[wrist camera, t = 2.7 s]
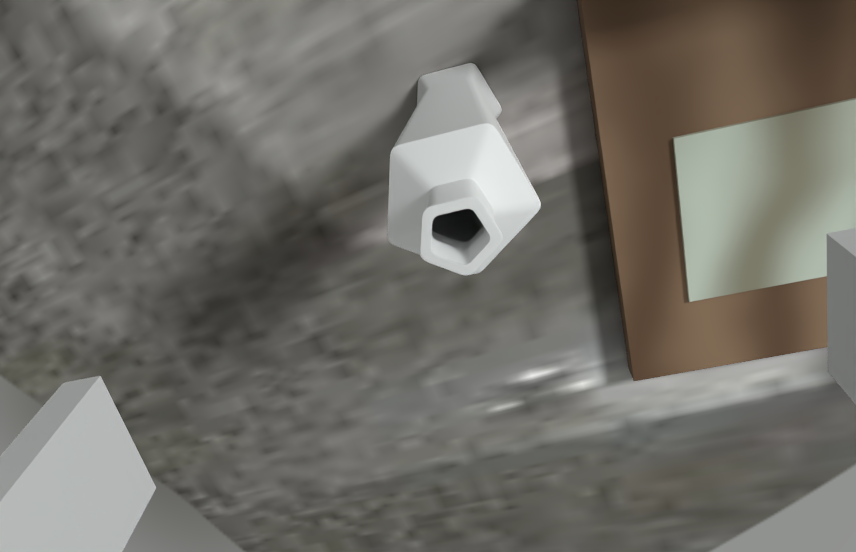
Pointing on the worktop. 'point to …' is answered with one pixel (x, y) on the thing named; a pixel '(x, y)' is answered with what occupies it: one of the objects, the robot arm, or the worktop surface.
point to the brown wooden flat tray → (722, 170)
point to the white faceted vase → (456, 176)
